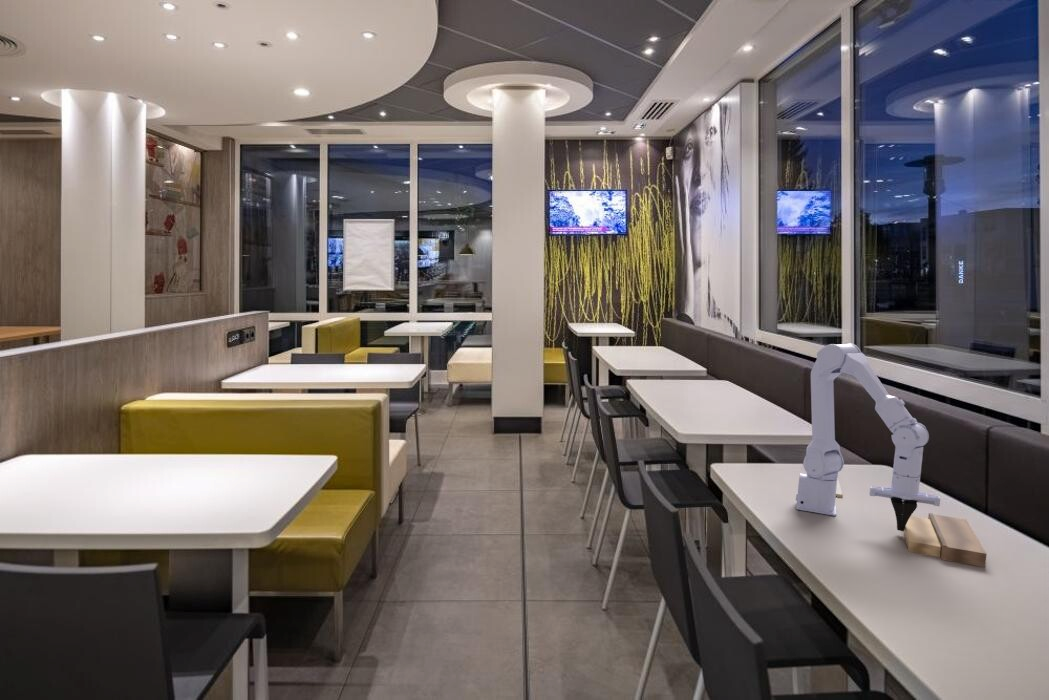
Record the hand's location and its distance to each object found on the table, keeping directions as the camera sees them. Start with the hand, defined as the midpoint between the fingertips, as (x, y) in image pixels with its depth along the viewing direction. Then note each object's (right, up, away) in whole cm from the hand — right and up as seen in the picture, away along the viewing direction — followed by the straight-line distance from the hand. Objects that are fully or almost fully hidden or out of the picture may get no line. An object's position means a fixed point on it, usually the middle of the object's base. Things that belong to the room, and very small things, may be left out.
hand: (900, 529), depth 161 cm
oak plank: (+3, -2, -2) cm, 5 cm away
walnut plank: (+10, -2, -4) cm, 11 cm away
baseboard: (0, +2, +44) cm, 44 cm away
